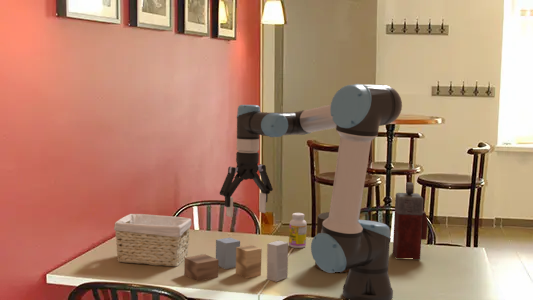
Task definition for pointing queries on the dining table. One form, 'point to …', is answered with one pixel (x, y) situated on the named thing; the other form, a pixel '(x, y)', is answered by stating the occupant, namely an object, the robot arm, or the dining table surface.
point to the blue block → (226, 252)
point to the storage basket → (152, 239)
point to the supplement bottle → (297, 231)
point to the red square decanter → (409, 224)
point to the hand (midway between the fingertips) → (246, 214)
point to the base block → (201, 267)
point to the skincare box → (277, 260)
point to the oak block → (248, 261)
